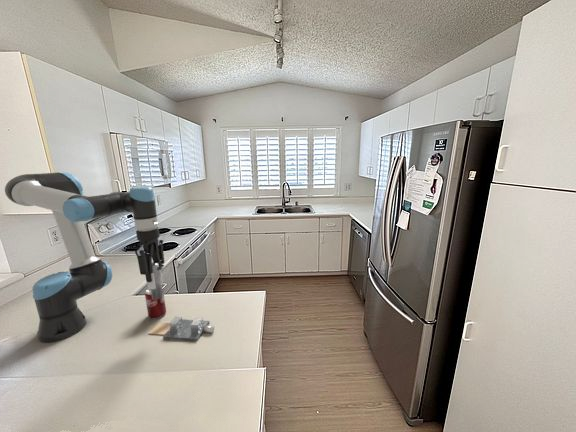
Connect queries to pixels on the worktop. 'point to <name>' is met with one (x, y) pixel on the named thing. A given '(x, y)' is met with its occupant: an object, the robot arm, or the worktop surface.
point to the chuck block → (187, 329)
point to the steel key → (157, 281)
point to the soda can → (155, 305)
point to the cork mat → (160, 329)
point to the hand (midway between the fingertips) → (155, 285)
